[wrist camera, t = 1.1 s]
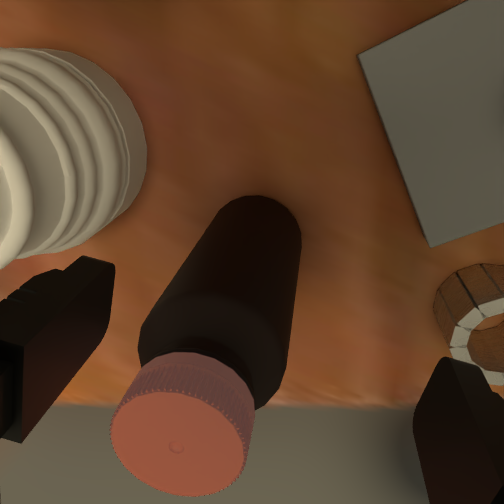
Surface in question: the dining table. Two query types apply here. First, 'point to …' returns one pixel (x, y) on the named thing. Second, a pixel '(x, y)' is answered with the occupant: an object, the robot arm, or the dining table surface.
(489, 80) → the piston block
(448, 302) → the ring
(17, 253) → the honey pot
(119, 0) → the dining table surface
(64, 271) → the robot arm
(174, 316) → the bottle
